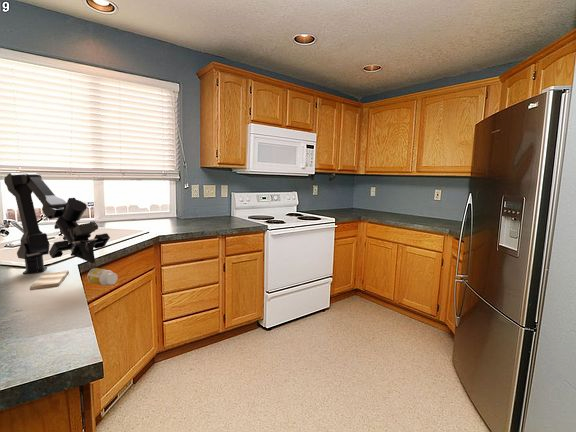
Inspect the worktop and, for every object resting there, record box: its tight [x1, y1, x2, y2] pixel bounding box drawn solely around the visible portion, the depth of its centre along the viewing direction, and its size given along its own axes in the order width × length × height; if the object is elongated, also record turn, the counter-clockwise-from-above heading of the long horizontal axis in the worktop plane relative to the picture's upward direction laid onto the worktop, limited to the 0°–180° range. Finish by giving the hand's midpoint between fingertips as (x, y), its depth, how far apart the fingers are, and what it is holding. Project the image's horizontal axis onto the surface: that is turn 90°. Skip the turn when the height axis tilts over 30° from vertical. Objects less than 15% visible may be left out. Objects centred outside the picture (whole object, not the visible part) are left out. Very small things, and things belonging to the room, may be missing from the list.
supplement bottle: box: [86, 267, 119, 286], centre depth 109 cm, size 5×5×10 cm
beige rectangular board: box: [29, 270, 70, 290], centre depth 114 cm, size 16×8×1 cm, turn 25°
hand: (93, 262), depth 109 cm, fingers closed
